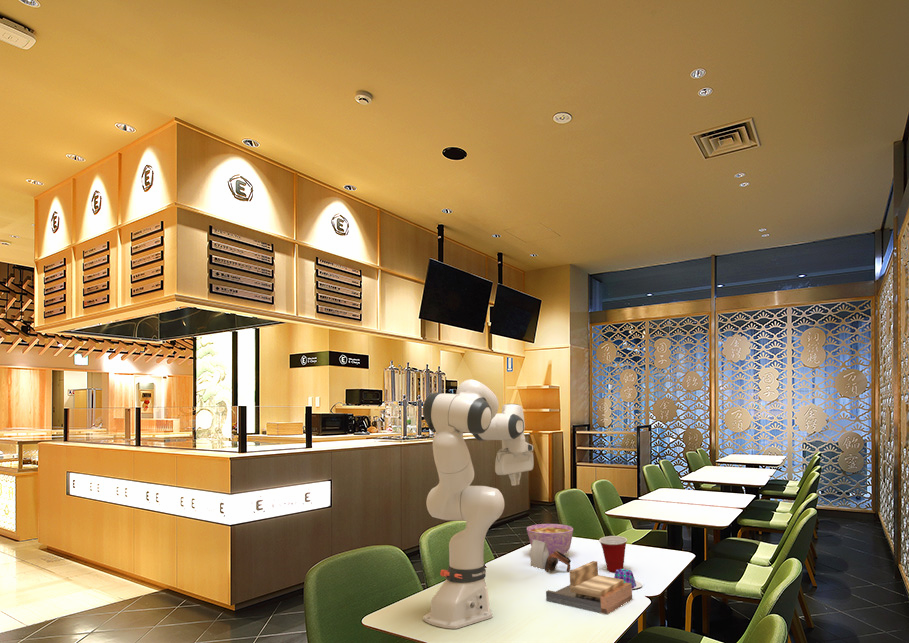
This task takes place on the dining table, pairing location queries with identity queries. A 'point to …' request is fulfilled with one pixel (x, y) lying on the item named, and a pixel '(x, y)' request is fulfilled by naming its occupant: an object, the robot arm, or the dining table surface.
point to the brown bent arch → (556, 561)
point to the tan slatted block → (591, 582)
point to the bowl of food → (552, 536)
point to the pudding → (627, 577)
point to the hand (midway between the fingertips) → (515, 485)
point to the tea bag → (538, 554)
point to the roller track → (604, 606)
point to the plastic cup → (613, 551)
